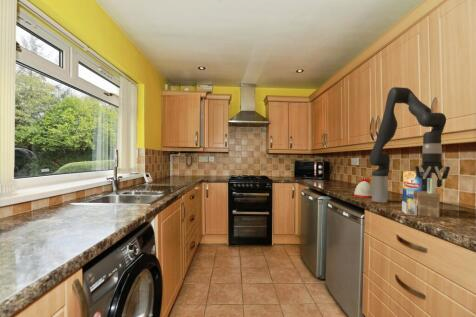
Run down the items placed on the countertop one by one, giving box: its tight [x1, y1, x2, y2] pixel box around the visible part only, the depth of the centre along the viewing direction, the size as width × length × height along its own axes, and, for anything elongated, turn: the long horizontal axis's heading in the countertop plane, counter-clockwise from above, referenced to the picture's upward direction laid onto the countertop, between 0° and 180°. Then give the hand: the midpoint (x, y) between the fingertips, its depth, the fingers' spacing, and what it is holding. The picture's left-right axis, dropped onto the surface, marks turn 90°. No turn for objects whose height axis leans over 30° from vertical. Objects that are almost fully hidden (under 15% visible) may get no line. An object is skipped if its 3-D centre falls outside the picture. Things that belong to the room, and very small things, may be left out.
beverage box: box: [402, 170, 433, 210], centre depth 130 cm, size 7×11×22 cm, turn 11°
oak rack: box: [413, 191, 440, 218], centre depth 119 cm, size 9×8×12 cm
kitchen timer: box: [353, 176, 372, 199], centre depth 181 cm, size 14×14×15 cm
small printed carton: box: [401, 200, 418, 216], centre depth 122 cm, size 10×4×6 cm, turn 155°
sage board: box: [427, 177, 437, 194], centre depth 118 cm, size 6×2×18 cm, turn 155°
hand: (431, 186), depth 118 cm, fingers open, 5 cm apart
